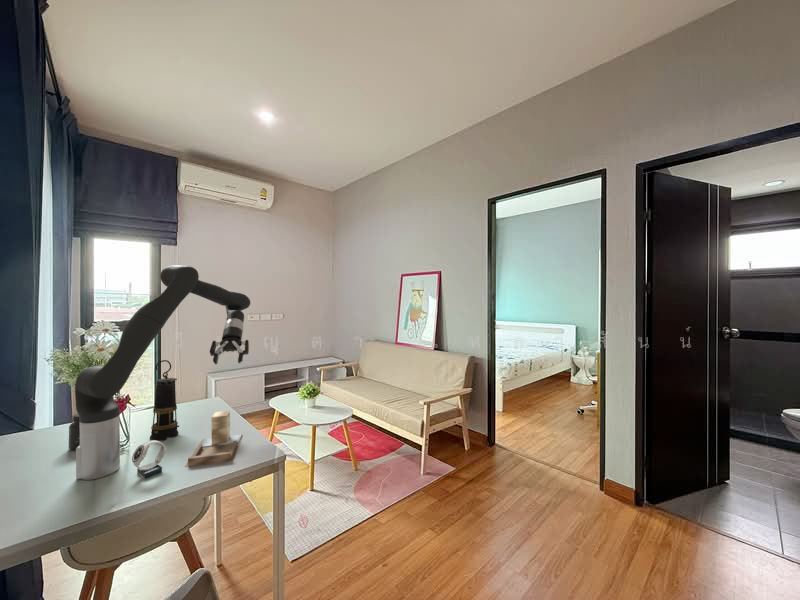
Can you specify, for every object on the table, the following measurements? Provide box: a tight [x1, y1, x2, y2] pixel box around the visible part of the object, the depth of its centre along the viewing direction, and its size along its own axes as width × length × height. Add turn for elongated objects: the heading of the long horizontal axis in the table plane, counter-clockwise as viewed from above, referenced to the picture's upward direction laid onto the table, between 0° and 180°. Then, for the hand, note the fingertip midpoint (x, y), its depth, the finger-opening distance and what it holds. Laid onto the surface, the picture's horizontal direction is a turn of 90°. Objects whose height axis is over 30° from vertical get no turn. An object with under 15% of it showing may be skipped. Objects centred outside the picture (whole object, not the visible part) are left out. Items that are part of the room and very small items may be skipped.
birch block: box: [211, 410, 231, 444], centre depth 120 cm, size 5×5×10 cm
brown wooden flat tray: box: [184, 434, 244, 468], centre depth 114 cm, size 14×20×4 cm
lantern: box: [149, 359, 180, 442], centre depth 127 cm, size 9×9×30 cm
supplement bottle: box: [68, 413, 80, 452], centre depth 117 cm, size 7×7×12 cm
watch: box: [131, 440, 167, 480], centre depth 98 cm, size 6×8×11 cm
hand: (227, 362), depth 130 cm, fingers open, 8 cm apart
